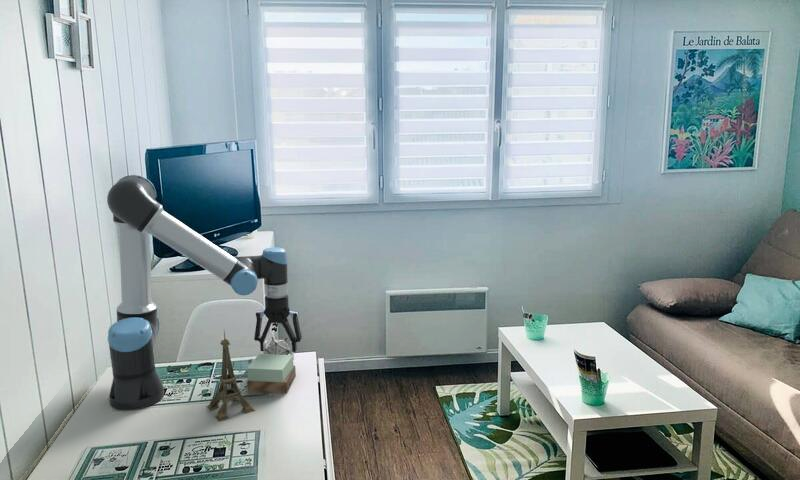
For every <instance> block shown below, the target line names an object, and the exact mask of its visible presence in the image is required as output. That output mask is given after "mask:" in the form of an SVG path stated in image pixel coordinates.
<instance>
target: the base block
mask: <svg viewBox="0 0 800 480" xmlns="http://www.w3.org/2000/svg"><path fill="white" fill-rule="evenodd" d="M293 366H294V367H293V368H292V370H291V371H290V373H289V374H288V376H287V377H286V379H285V380H284V382H266V381H248V380H246V386H247V393H248V394H251V393H252V394H255V393H256V394H288V392H289V390H290V389H291V387H292V385H293V383H294V380H295V379H296V376H297V375H296V373H297V371H296V365H293Z"/></svg>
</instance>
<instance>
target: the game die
mask: <svg viewBox="0 0 800 480" xmlns="http://www.w3.org/2000/svg"><path fill="white" fill-rule="evenodd" d="M287 339H288V337H286V338H285V339H279V338H274V337H273V336H271V341H270V343H269V345H268V348H267V349H265V351H267V353H268V354H276V355H290V349H289V344H288V341H287Z"/></svg>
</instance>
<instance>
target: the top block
mask: <svg viewBox="0 0 800 480" xmlns="http://www.w3.org/2000/svg"><path fill="white" fill-rule="evenodd" d="M294 366H295V365H294V360H293V355H290V354H288V355H276V354H264V353H258V354H257V356H256V357H255V358H254V359H253V360H252V361H251V362H250V364H249V365H248V366H247V367H246V372H247V373H246V374H247V381H266V382H284V380H285V379H286V377H287V376H288V374H289V373H290V371H291V370H292V368H293V367H294Z"/></svg>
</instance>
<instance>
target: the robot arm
mask: <svg viewBox="0 0 800 480" xmlns="http://www.w3.org/2000/svg"><path fill="white" fill-rule="evenodd" d="M156 198H157V191H156V188H155V185H154V183H152V182H151V180H150V179H148V178H146V177H145V176H142V175H137V174H131V175H126V176H123V177H121V178H120V179H119V180H118V181H117V182H116V183H114V184H113V185H112V187H110V189H109V190H108V192H107V197H106V201H107V206H108V208H109V210H110V212H111V213H112V221H113V223H115V224H116V226H117V227H118V230H119V231H118V234H119V236H118V237H119V257H120V258H119V262H120V263H119V264H120V289H121V290H120V292H121V293H120V294H121V303H120V304H119V305H118V306H117V307H116V322H114V323H112V325H110V326H109V329H108V332H107V334H108V336H107V341H108V342H107V343H108V347H109V354H110V355H109V356H110V361H111V370H112V382H111V387H110V391H109V395H108V396H109V397H108V400H109V405H110V406H111V408H114V409H116V410H118V411H119V410H120V411H133V410H139V409H144V408H147V407H149V406H152V405H154V404H156V403H158V402H159V401H162V399H163V398H164V396H165V388H164V385H163V383H162V381H161V379H160V377H159V374H158V372H157V371H156V362H155V353H154V345H155V343H156V342H155V341H156V339H157V335H158V333H159V330H160V321H159V318H158V306H157V303H155V302H154V301H153V300H152V299H153V298H152V267H151V266H152V264H151V263H152V262H151V259H152V258H151V236H152V237H154V238H156V239H158V240H159V241H161V242H162V243H163V244H165V245H167V246H168V247H170V248H171V249H173V250H174V251H176V252H178V253H179V254H181V255H182V256H184V257H185V258H188V259H189V260H190V261H192V262H194V263H195V264H196V265H198V266H200V267H201V268H203V269H204V270H206V271H207V272H209V273H210V274H212V275H213V276H215V277H217V278H218V279H220V280H222V282H225V284H227V285H229V286H230V287H231V289H232V290H233V292H234V293H235V294H237V295H238V296H239V295H240V296H248V295H250V294H252V293H254V292H255V291H256V289H257V287H258V281H259V280H262V279H263V286H264V291H263V292H264V310H261V309H259V310H257V311H256V312H255V318H256V322H255V323H256V324H255V331H254V338H253V339H254V341H255V342H256V341H257V342H259V344H260V347H259V348H260V352H263V354H268V353H267V351H265V349H267V348H268V346H269V345H268V340H267V339H266V338H267V335H268V333H269V331H270V328H271V326H272V324H277V323H278V324H281V325H282V327H283V328H284V330H285V332H286V334H287V336H288V338H289V340H290V342H289V344H288V345H289V349H290V353H289V355H293V361H294V360H295V353H296V352H297V348H298V347H297V346H298V345H297V343H300V342H301V340H302V339H303V336H302V332H301V327H300V321H299V311H297V310H296V311H292V310H291V309H290V307H289V304H290V303H289V295H288V294H289V286H288V285H289V283H288V281H289V280H288V279H289V278H288V259H287V256H288V255H287V251H286V249H285V248H283V247H278V246H275V247H273V246H272V247H266V248H264V249H263V250H262V255H261V254H260V255H249V256H247V255H246V256H245V255H244V256H237V255H236V256H233V255H231V254H230V253H228V252H227V251H226V250H224V249H222V247H220V246H218V245H216V244H214V243H213V242H212V241H210V240H209V239H207V238H206V237H204V236H203V235H201V234H200V233H198V232H197V231H195V230H193V228H190V227H189V226H188V225H186V224H185V223H183V222H182V221H180V220H179V219H177V218H176V217H175V216H173V215H171V214H169V213H168V212H167V211H165V210H164V208H163V205H162V204H161V203H160V202H158V201H157V200H156ZM264 315H265V316H264ZM289 316H290V319H292V324H293V325H292V326H293V328H292V327H291V325H290V323H289V319H288V317H289ZM263 317H266V318H267V322H266V325H265V326H264V329H263V331H262V334H261V330H262V323H263ZM293 329H294V330H293Z"/></svg>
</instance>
